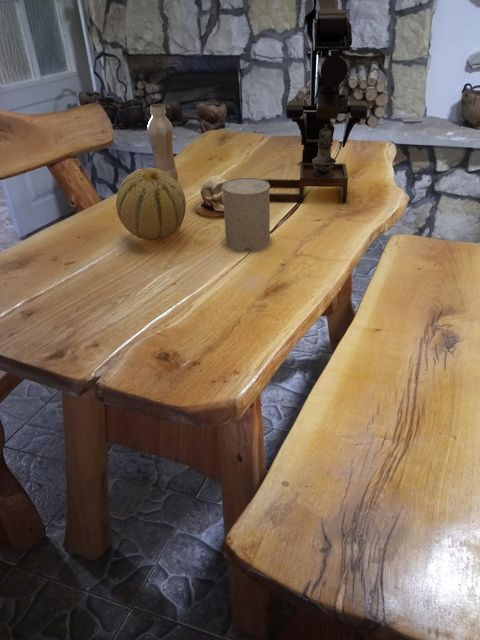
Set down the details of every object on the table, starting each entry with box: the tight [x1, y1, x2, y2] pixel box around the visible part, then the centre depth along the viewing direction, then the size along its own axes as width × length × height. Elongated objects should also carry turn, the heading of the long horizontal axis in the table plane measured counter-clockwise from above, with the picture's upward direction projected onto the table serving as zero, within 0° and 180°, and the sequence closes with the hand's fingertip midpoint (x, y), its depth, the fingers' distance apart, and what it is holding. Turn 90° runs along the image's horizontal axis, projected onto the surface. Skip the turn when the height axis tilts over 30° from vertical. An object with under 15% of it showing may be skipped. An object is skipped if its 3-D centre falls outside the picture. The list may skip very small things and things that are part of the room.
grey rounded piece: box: [312, 125, 337, 177], centre depth 133 cm, size 6×6×12 cm
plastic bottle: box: [146, 103, 179, 183], centre depth 139 cm, size 6×7×20 cm
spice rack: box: [262, 163, 349, 204], centre depth 138 cm, size 23×11×6 cm, turn 86°
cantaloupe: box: [115, 167, 187, 242], centre depth 115 cm, size 15×15×15 cm
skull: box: [194, 175, 228, 217], centre depth 131 cm, size 12×10×10 cm
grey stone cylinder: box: [222, 177, 271, 253], centre depth 114 cm, size 10×10×12 cm
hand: (324, 146), depth 134 cm, fingers open, 9 cm apart
